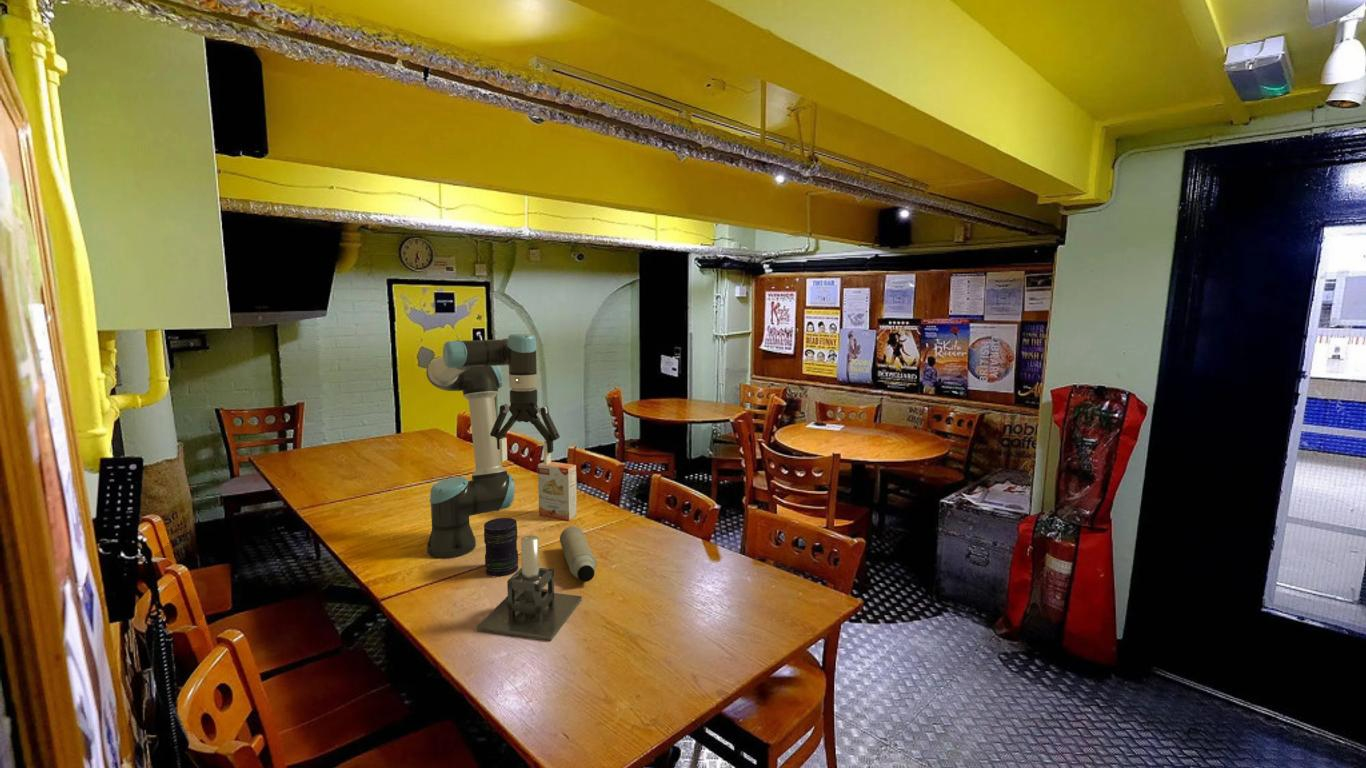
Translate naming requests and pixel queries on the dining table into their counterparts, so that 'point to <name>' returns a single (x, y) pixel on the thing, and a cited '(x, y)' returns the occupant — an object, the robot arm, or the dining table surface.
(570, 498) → the cracker box
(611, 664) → the dining table surface
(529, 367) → the robot arm
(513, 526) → the storage jar
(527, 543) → the steel tube
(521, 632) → the collar stand
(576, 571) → the thermos bottle
